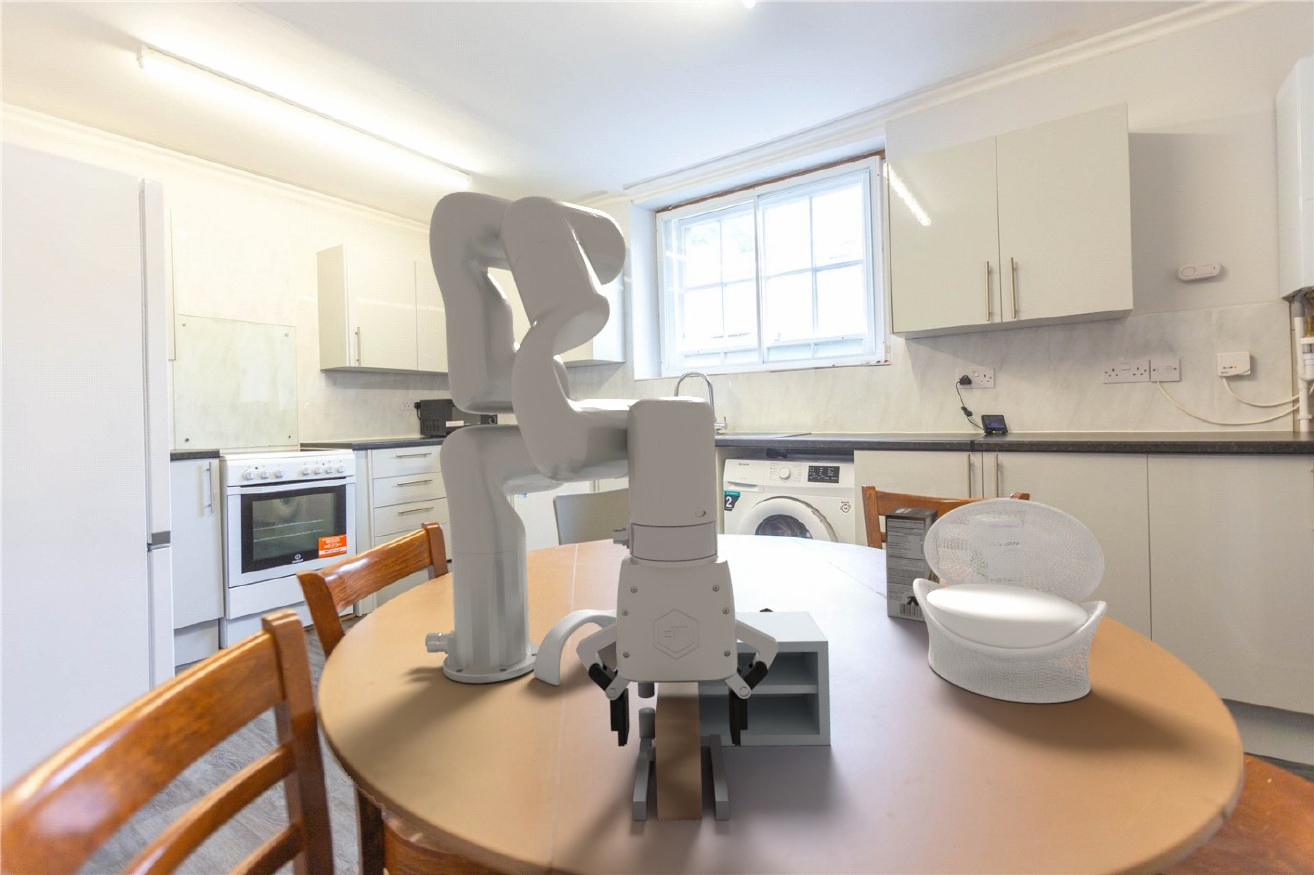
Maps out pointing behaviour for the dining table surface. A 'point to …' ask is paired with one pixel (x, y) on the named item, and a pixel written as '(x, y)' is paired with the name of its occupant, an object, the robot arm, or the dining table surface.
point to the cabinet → (756, 702)
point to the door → (677, 752)
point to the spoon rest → (557, 637)
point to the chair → (1012, 602)
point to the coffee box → (907, 559)
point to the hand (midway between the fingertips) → (679, 737)
